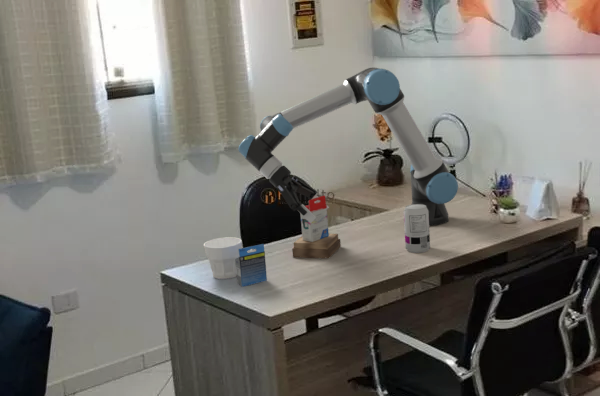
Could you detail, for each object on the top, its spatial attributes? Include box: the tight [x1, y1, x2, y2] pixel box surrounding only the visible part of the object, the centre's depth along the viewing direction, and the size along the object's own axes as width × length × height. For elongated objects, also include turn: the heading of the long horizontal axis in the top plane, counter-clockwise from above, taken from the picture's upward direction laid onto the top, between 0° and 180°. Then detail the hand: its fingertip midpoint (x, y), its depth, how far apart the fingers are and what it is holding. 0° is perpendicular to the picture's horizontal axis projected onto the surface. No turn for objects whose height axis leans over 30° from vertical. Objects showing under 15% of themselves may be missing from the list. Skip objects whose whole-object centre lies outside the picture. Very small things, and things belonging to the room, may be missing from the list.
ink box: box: [299, 195, 330, 242], centre depth 276 cm, size 8×5×15 cm, turn 135°
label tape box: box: [235, 243, 268, 288], centre depth 251 cm, size 9×4×12 cm, turn 118°
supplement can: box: [403, 203, 431, 254], centre depth 271 cm, size 8×8×15 cm
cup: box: [203, 236, 243, 280], centre depth 261 cm, size 12×12×11 cm
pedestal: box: [291, 233, 342, 259], centre depth 278 cm, size 13×13×5 cm
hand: (320, 215), depth 275 cm, fingers open, 13 cm apart
